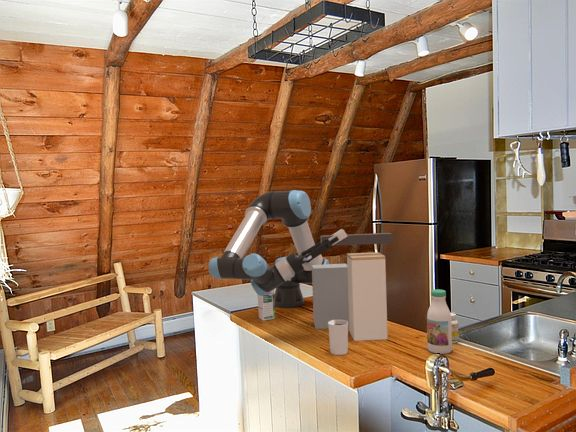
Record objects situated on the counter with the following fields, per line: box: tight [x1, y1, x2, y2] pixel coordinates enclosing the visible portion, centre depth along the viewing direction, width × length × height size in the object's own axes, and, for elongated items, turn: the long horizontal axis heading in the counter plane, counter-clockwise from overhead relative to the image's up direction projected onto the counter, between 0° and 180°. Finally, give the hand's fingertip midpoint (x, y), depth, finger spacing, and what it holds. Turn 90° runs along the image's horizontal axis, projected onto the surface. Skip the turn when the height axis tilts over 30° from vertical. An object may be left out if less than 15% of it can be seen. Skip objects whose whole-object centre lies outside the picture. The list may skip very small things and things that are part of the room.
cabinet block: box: [346, 251, 389, 342], centre depth 167 cm, size 11×12×30 cm
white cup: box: [328, 320, 349, 356], centre depth 151 cm, size 7×7×10 cm
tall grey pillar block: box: [311, 263, 349, 330], centre depth 182 cm, size 9×14×24 cm, turn 92°
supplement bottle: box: [450, 312, 459, 344], centre depth 158 cm, size 5×5×10 cm
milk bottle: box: [426, 288, 453, 355], centre depth 149 cm, size 8×8×20 cm
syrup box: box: [257, 289, 276, 322], centre depth 195 cm, size 6×6×14 cm
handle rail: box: [320, 232, 394, 247], centre depth 166 cm, size 4×26×4 cm, turn 92°
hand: (344, 232), depth 166 cm, fingers closed on handle rail, 3 cm apart
